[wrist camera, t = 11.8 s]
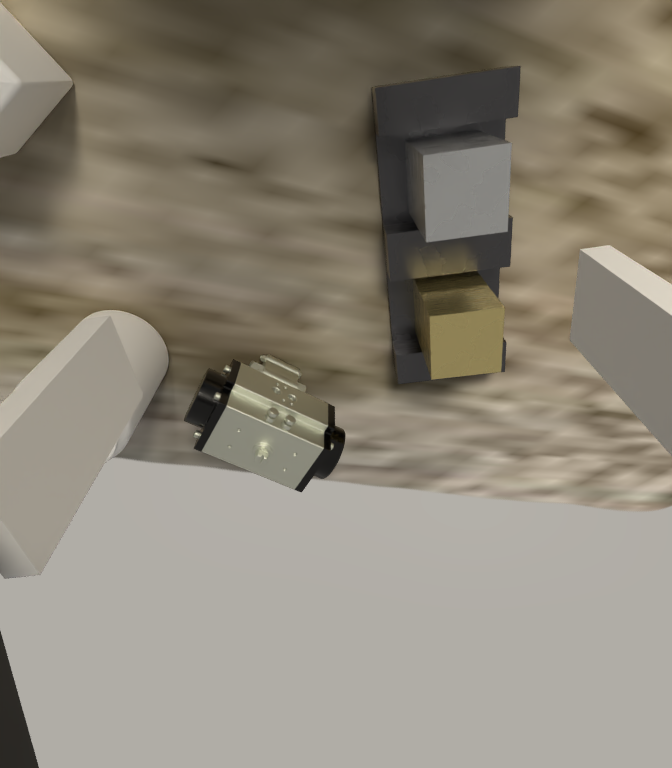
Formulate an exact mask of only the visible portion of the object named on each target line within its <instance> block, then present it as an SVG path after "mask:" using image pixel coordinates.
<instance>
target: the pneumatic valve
mask: <svg viewBox="0 0 672 768" xmlns="http://www.w3.org/2000/svg"><path fill="white" fill-rule="evenodd" d="M260 359H261V361H263V364H262V365H260V364H258V363H256V362H254V361H251V363H250V364H249V366H247V365H245V364H243V363H240V362H238V361H236V360H234V359H233V360H232V362H231V364H230V366H227V365H226V366H225V368H224V370H223V372H225V373H226V374H225V375H223V374H221V373H219V372H217V371H215V370H213V369H210V368H209V369H208V370H207V372H206V373H205V375H204V377H203V379H202V381H201V383H200V385H199V387H198V389H197V391H196V393H195V395H194V398H193V400H192V402H191V404H190V406H189V408H188V411H187V413H186V415H185V418H184V421H185V422H188V423H190V424H192V425H195V426H197V427H199V428H201V430H200V431H198V430H196V431H195V433H194V436H193V437H195V438H197V441H196V443H195V446H194V449H196V450H198V451H201V452H203V453H206V454H208V455H211V456H213V457H216V458H218V459H221V460H223V461H225V462H228V463H230V464H233V465H235V466H238V467H240V468H243V469H245V470H248V471H250V472H253V473H255V474H257V475H260V476H263V477H265V478H267V479H270V480H272V481H275V482H277V483H280V484H282V485H285V486H287V487H289V488H292V489H295V490H297V491H299V492H302V491H303V490H304V488H305V487H306V485H307V484H308V483H309V481H310V480H311V479H312V477H313V476H316V477H318V478H321V479H324V478H326V477H327V476H328V475H329V474H330V473H331V472H332V471H333V469H334V468H335V466H336V465H337V463H338V461H339V459H340V456H341V454H342V451H343V448H344V443H345V431H344V430H343V429H342V428H340V427H337V426H335V407H334V406H332V405H330V404H328V403H326V402H324V401H322V400H320V399H317V398H315V397H313V396H311V395H309V394H307V393H305V391H306V386H305V385H303V384H301V383H299V382H298V378H300V377H301V375H302V373H301V372H300V369H298V368H296V367H294V366H292V365H289V364H287V363H285V362H283V361H281V360H279V359H277V358H275V357H273V356H271V355H269V354H268V355H266V356H265V355H261V356H260Z"/></svg>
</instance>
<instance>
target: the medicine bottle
mask: <svg viewBox="0 0 672 768" xmlns="http://www.w3.org/2000/svg"><path fill="white" fill-rule="evenodd" d="M72 86H73V80H72V79H71V78H70V76H69V75H68V74H67V73H66V72H65V71H64V70H63V69H62V68H61V67H60V66H59V65H58V64H57V63H56V61H55V60H54V59H53V58H52V57H51V56H50V55H49V54H48V53H47V52H46V51H45V50H44V49H43V48H42V46H41V45H40V44H39V43H38V42H37V41H36V40H35V39H34V38H33V37H32V36H31V35H30V34H29V32H28V31H27V30H26V29H25V28H24V27H23V26H22V25H21V24H20V23H19V22H18V21H17V20H16V19H15V17H14V16H13V15H12V14H11V13H10V12H9V11H8V10H7V9H6V8H5V7H4V6H3V5H2V3H1V2H0V158H1V157H5V156H9V155H13V154H16V153H17V152H18V151H19V150H20V148H21V147H22V146H23V145H24V144H25V142H26V141H27V140H28V139H29V138H30V136H31V135H32V134H33V133H34V132H35V130H36V129H37V128H38V127H39V126H40V124H41V123H42V122H43V121H44V120H45V118H46V117H47V116H48V115H49V114H50V112H51V111H52V110H53V109H54V108H55V106H56V105H57V104H58V103H59V102H60V100H61V99H62V98H63V97H64V96H65V94H66V93H67V92H68V91H69V89H70V88H71V87H72Z"/></svg>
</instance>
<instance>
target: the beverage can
mask: <svg viewBox="0 0 672 768" xmlns="http://www.w3.org/2000/svg"><path fill="white" fill-rule="evenodd" d="M109 315H110V316H111V318H112V321H113V323H114V326H115V328H116V330H117V333H118V335H119V338H120V340H121V342H122V345H123V347H124V350H125V352H126V354H127V357H128V359H129V362H130V364H131V366H132V369H133V371H134V374H135V376H136V378H137V381H138V383H139V386H140V388H141V391H142V393H143V397H142V398H141V400H140V402H139V404H138V405H137V407H136V409H135V411H134V412H133V414H132V416H131V418H130V419H129V421H128V423H127V425H126V426H125V428H124V430H123V432H122V433H121V435H120V437H119V439H118V440H117V442H116V444H115V446H114V447H113V449H112V451H111V453H110V454H109V456H108V458H107V459H106V461H108V460H110V459H112V458H114V457H115V456H116V455H118V454H119V453H120V452H121V451H122V450H123V449H124V448H125V446H126V445H127V443H128V442H129V440H130V438H131V436H132V434H133V432H134V431H135V429H136V427H137V425H138V423H139V421H140V420H141V418H142V416H143V414H144V412H145V410H146V409H147V407H148V405H149V403H150V401H151V400H152V398H153V396H154V394H155V392H156V390H157V389H158V387H159V385H160V383H161V381H162V379H163V378H164V376H165V374H166V371H167V369H168V363H169V357H168V351H167V348H166V345H165V343H164V341H163V339H162V337H161V336H160V334H159V333H158V332H157V331H156V330H155V329H154V328H153V327H152V326H151V325H150V324H149V323H147V322H146V321H145V320H143V319H141V318H140V317H138V316H136V315H133V314H131V313H128V312H124V311H118V310H104V311H99V312H95V313H93V314H91V315H89V316H87V317H86V318H84V319H87V318H95V317H102V316H109ZM84 319H83V320H84ZM83 320H82V321H83ZM82 321H81V322H82ZM81 322H80V323H81ZM80 323H79V324H80ZM79 324H78V325H79ZM78 325H77V326H78ZM77 326H76V327H77ZM76 327H75V328H76ZM75 328H74V329H75ZM74 329H73V330H74ZM73 330H72V331H73ZM72 331H71V332H72ZM71 332H70V333H71ZM70 333H69V334H70ZM69 334H68V335H69ZM68 335H67V336H68ZM67 336H66V337H67ZM66 337H65V338H66ZM65 338H64V339H65ZM64 339H63V340H64ZM63 340H62V341H63ZM62 341H61V342H62ZM61 342H60V343H61ZM60 343H59V344H60ZM59 344H58V345H59ZM58 345H57V346H58ZM57 346H56V347H57ZM56 347H55V348H56ZM55 348H54V349H53V350H52V351H51V352H50V353H49V354H48V355H47V356H46V357H45V358H44V359H43V360H42V361H41V362H40V363H39V364H38V365H37V366H36V367H35V368H34V369H33V370H32V371H31V372H30V373H29V374H28V375H27V376H26V377H25V378H24V379H23V380H22V381H21V382H20V383H19V384H18V385H17V387H18V386H19V385H20V384H21V383H22V382H23V381H24V380H25V379H26V378H27V377H28V376H29V375H30V374H31V373H32V372H33V371H34V370H35V369H36V368H37V367H38V366H39V365H40V364H41V363H42V362H43V361H44V360H45V359H46V358H47V357H48V356H49V355H50V354H51V353H52V352H53V351H54V350H55ZM17 387H16V388H17ZM16 388H15V389H16ZM106 461H105V463H106Z"/></svg>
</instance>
